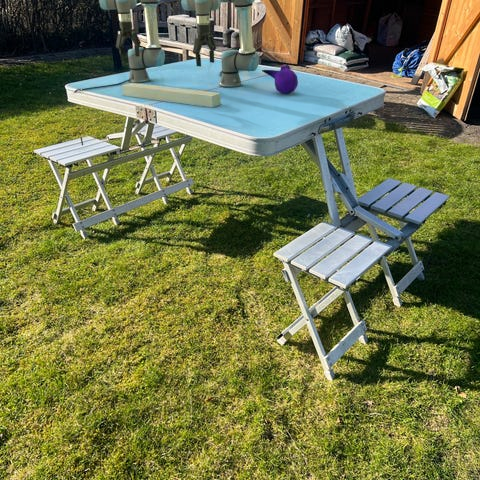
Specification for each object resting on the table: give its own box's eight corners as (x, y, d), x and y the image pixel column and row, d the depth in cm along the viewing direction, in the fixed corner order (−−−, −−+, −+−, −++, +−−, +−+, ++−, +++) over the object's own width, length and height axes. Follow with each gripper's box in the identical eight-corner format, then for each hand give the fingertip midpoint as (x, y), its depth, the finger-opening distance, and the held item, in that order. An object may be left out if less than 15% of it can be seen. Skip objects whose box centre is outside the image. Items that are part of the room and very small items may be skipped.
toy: (281, 86, 312) (297, 99, 291) (258, 82, 304) (273, 95, 284) (288, 63, 304) (305, 74, 283) (264, 58, 296) (281, 69, 276)
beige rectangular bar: (123, 95, 298) (122, 85, 295) (132, 92, 305) (131, 82, 302) (212, 107, 266) (211, 96, 263) (220, 104, 273) (220, 93, 270)
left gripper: (115, 23, 265) (121, 61, 276) (143, 19, 284) (147, 55, 294) (106, 23, 269) (112, 60, 280) (134, 19, 287) (139, 54, 298)
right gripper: (195, 26, 239) (198, 68, 250) (221, 22, 257) (222, 61, 268) (184, 26, 243) (187, 67, 253) (210, 21, 261) (212, 60, 272)
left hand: (130, 58), depth 287 cm, fingers open, 13 cm apart
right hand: (205, 64), depth 261 cm, fingers open, 13 cm apart
